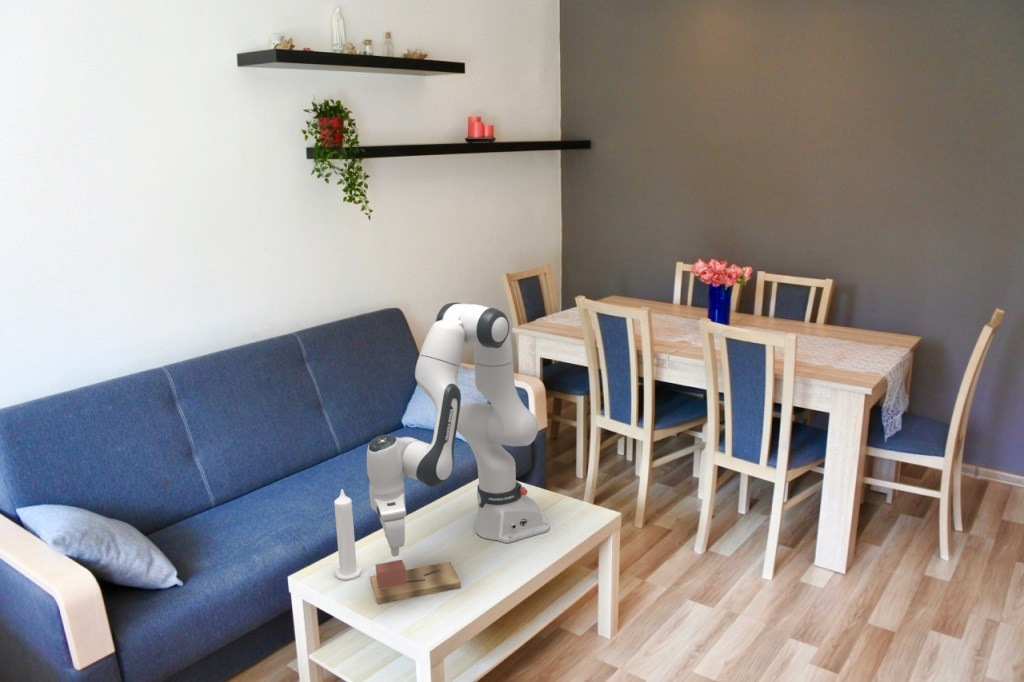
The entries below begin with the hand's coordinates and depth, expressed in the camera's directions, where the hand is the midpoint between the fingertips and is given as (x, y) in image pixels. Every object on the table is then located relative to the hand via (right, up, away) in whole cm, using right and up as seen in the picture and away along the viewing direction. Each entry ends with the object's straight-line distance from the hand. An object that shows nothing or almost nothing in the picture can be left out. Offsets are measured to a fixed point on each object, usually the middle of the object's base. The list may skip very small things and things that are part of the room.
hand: (391, 545), depth 211 cm
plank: (+6, -11, +4) cm, 13 cm away
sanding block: (0, -10, +2) cm, 10 cm away
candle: (-13, -10, +11) cm, 20 cm away
